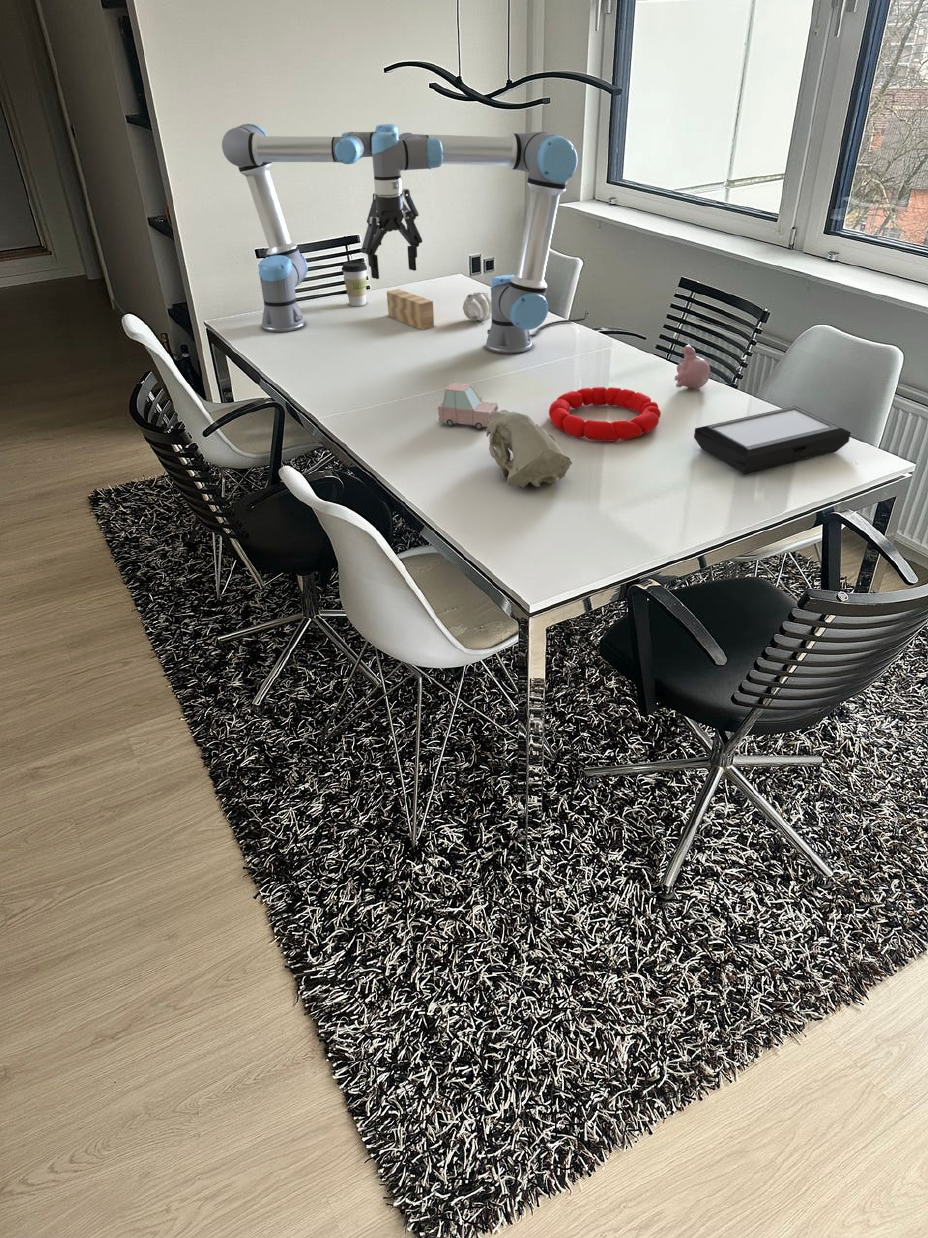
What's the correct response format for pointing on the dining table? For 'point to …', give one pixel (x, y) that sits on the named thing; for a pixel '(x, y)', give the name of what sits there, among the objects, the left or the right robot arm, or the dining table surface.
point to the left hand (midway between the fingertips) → (394, 241)
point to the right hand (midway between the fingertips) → (394, 273)
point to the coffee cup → (355, 282)
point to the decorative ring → (604, 428)
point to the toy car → (465, 406)
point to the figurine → (692, 370)
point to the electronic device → (771, 439)
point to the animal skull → (525, 450)
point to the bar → (410, 309)
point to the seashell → (477, 306)
